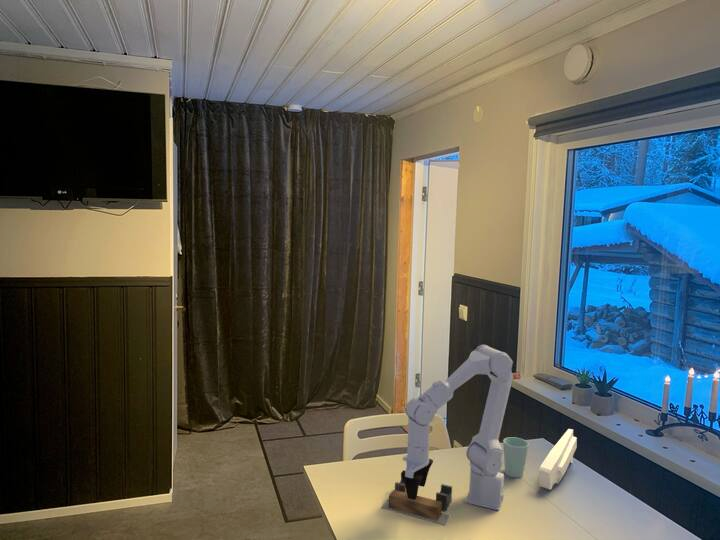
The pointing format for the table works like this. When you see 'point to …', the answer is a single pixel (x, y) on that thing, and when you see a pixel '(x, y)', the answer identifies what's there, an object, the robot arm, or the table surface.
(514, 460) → the cup
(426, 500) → the rail
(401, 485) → the post
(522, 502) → the table surface
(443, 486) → the post
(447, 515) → the mat
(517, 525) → the table surface
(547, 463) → the shelf bracket
